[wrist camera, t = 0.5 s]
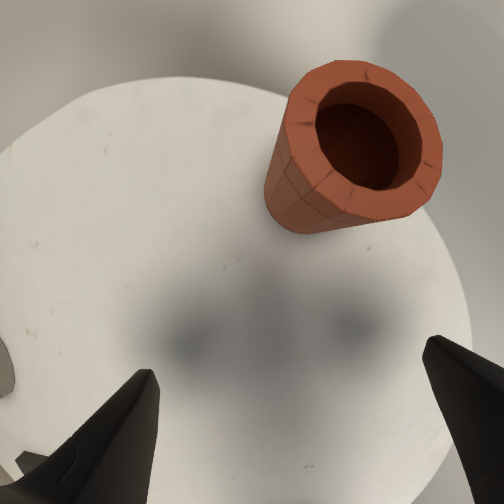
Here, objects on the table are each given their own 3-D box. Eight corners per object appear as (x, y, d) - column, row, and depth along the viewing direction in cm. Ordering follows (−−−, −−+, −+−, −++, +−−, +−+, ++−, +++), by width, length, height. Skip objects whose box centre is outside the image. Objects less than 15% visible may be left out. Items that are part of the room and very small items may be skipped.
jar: (351, 226, 22) (458, 208, 9) (272, 240, 22) (306, 234, 9) (335, 149, 21) (414, 64, 9) (257, 159, 21) (268, 63, 9)
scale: (136, 528, 22) (131, 541, 19) (64, 512, 22) (57, 523, 19) (95, 465, 22) (86, 479, 19) (24, 450, 22) (13, 460, 19)
